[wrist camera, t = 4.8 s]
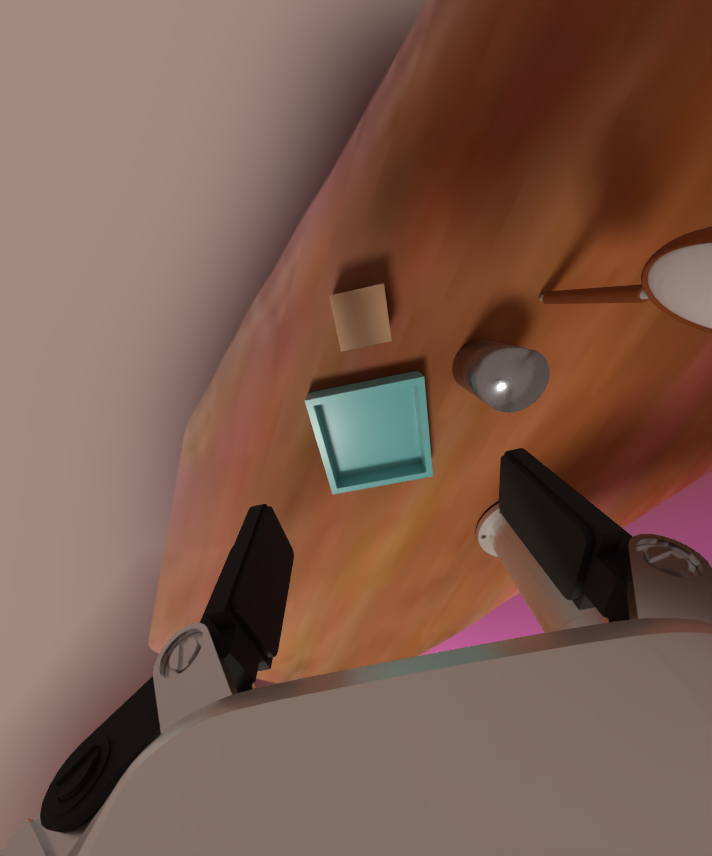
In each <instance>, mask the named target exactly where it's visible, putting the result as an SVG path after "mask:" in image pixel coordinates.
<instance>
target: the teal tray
mask: <svg viewBox="0 0 712 856" xmlns="http://www.w3.org/2000/svg"><path fill="white" fill-rule="evenodd" d="M305 403H306V407H307V410H308V413H309V417H310V420H311V423H312V427H313V430H314V433H315V437H316V440H317V444H318V447H319V450H320V454H321V457H322V460H323V464H324V467H325V470H326V474H327V477H328V480H329V484H330V487H331V491H332V494H338V493H343V492H349V491H354V490H360V489H365V488H371V487H376V486H382V485H387V484H393V483H398V482H404V481H409V480H414V479H420V478H425V477H431V476H433V472H432V460H431V449H430V437H429V426H428V414H427V402H426V391H425V379H424V376H423V375H422V374H421V373H420V372H419V371H413V372H408V373H403V374H398V375H393V376H388V377H383V378H378V379H374V380H369V381H364V382H359V383H354V384H349V385H344V386H339V387H334V388H329V389H324V390H319V391H315V392H310V393H308V394H307V397H306V399H305Z"/></svg>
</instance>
